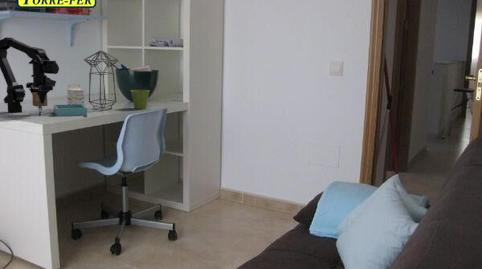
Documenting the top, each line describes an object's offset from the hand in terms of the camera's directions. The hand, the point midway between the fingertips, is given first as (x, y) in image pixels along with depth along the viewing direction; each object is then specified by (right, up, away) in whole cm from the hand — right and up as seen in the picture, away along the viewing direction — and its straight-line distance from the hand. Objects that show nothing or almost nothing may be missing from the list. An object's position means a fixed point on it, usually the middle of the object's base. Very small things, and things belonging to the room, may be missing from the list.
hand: (40, 102), depth 252 cm
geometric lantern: (+22, -2, +35) cm, 42 cm away
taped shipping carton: (0, -2, 0) cm, 2 cm away
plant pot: (+43, -1, +45) cm, 62 cm away
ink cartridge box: (+8, -2, +33) cm, 34 cm away
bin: (+13, -6, +8) cm, 17 cm away
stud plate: (0, -7, +1) cm, 7 cm away
